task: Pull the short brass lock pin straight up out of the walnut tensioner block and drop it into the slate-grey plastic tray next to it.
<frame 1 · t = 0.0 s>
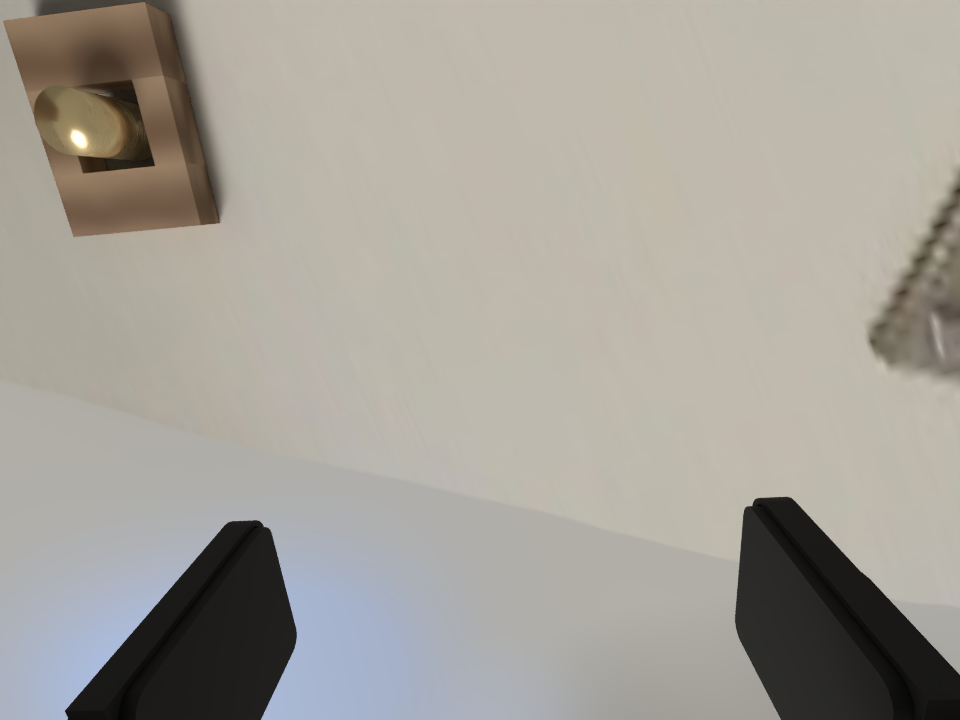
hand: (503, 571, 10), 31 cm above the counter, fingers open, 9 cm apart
lock pin: (132, 132, 38), resting in tensioner block
tensioner block: (132, 132, 37), on the counter
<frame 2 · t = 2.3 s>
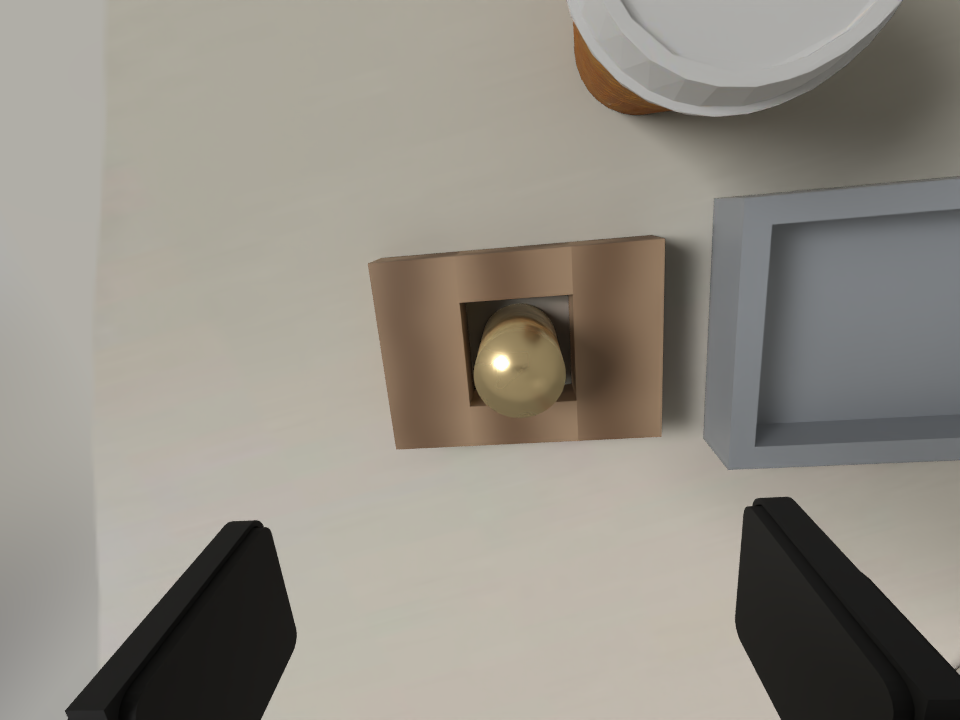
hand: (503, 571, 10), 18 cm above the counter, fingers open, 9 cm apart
disposable coffee cup: (642, 40, 23), on the counter
slate tray: (869, 316, 26), on the counter
lock pin: (519, 339, 28), resting in tensioner block
tensioner block: (519, 339, 28), on the counter
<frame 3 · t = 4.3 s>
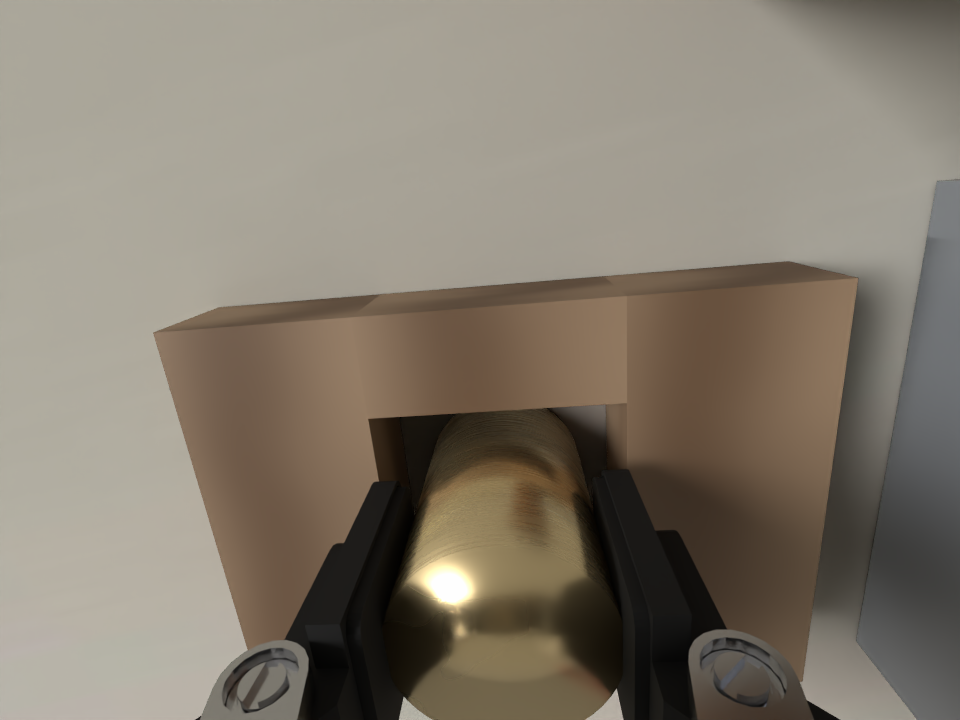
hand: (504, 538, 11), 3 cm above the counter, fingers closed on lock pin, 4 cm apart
lock pin: (505, 464, 14), resting in tensioner block, touching gripper
tensioner block: (505, 465, 14), on the counter
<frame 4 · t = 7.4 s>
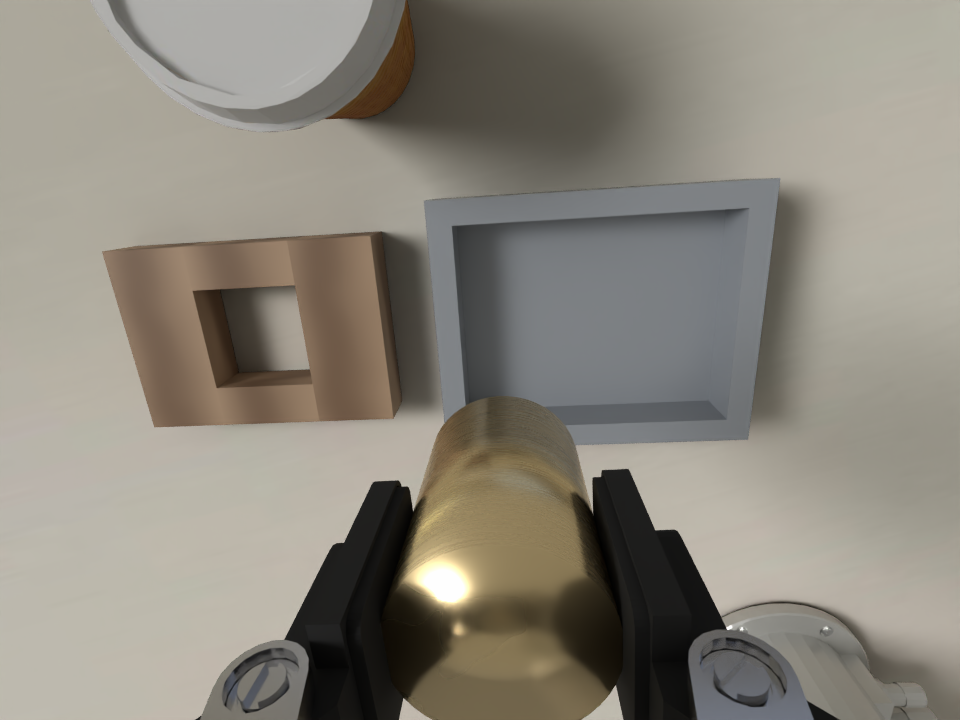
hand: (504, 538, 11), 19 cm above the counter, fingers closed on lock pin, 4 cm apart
disposable coffee cup: (352, 49, 25), on the counter
slate tray: (585, 311, 28), on the counter
lock pin: (504, 463, 14), point 16 cm above the counter, touching gripper
tensioner block: (274, 326, 29), on the counter
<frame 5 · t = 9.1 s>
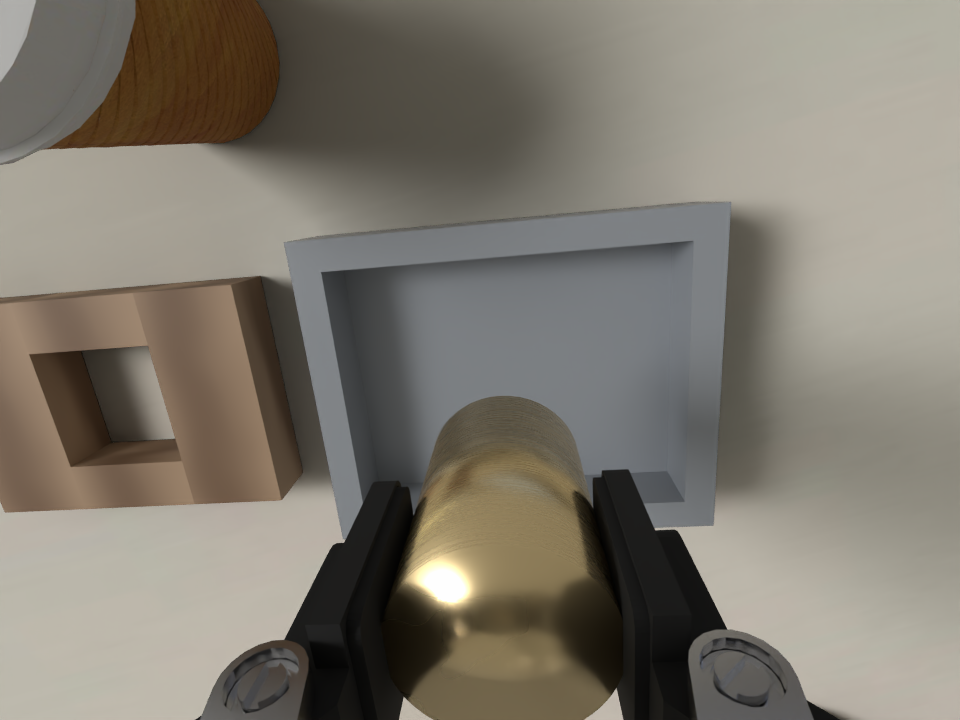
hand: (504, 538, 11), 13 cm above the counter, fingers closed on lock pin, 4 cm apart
disposable coffee cup: (206, 60, 20), on the counter
slate tray: (512, 365, 23), on the counter
lock pin: (505, 463, 14), point 10 cm above the counter, touching gripper
tensioner block: (146, 389, 25), on the counter
when the fingers open (6 cm above the counter, at t = 10.6 s): lock pin drops 2 cm, resting on slate tray.
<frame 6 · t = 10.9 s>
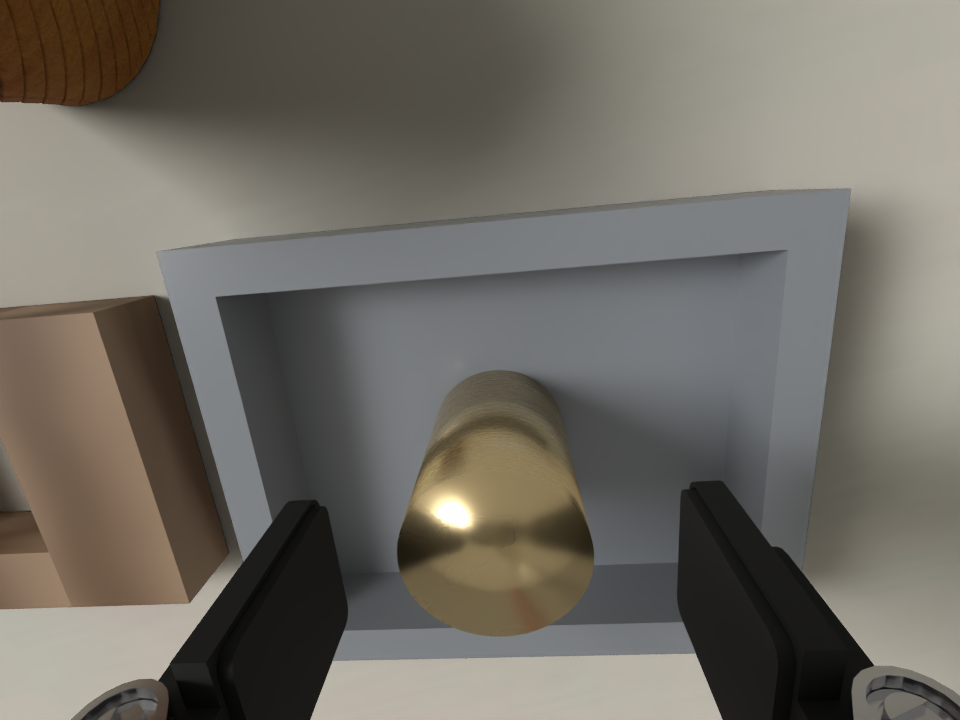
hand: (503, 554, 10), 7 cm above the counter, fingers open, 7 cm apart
slate tray: (506, 416, 17), on the counter
lock pin: (499, 429, 16), point 1 cm above the counter, touching slate tray
tensioner block: (12, 446, 18), on the counter
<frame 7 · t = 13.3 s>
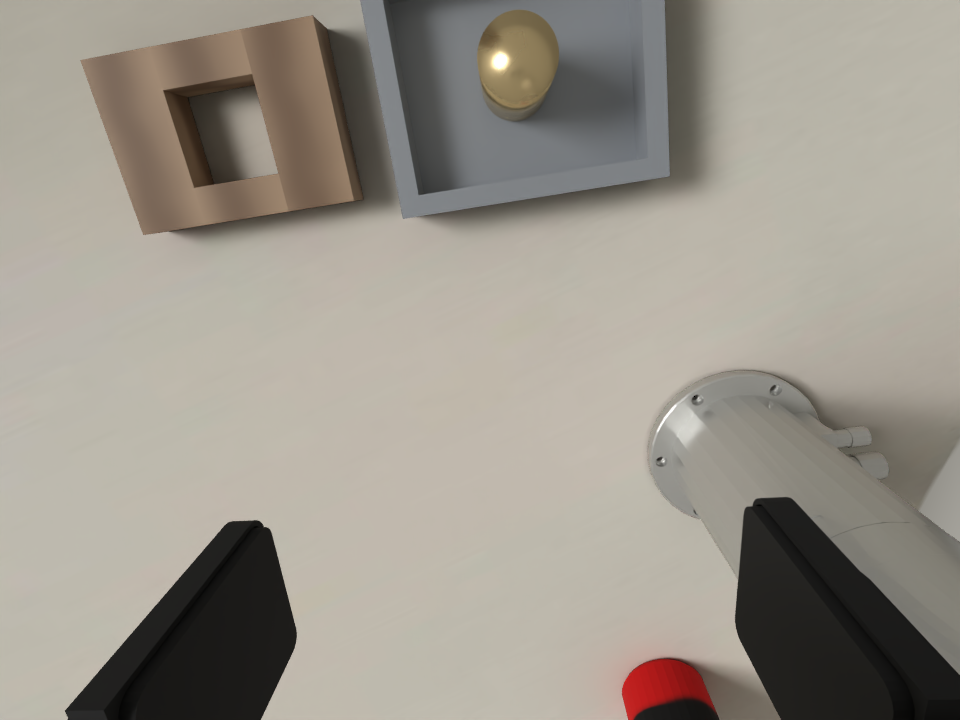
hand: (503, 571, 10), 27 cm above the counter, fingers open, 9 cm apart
slate tray: (517, 88, 31), on the counter
soda can: (660, 684, 48), on the counter
lock pin: (514, 85, 30), point 1 cm above the counter, touching slate tray
tensioner block: (241, 136, 33), on the counter
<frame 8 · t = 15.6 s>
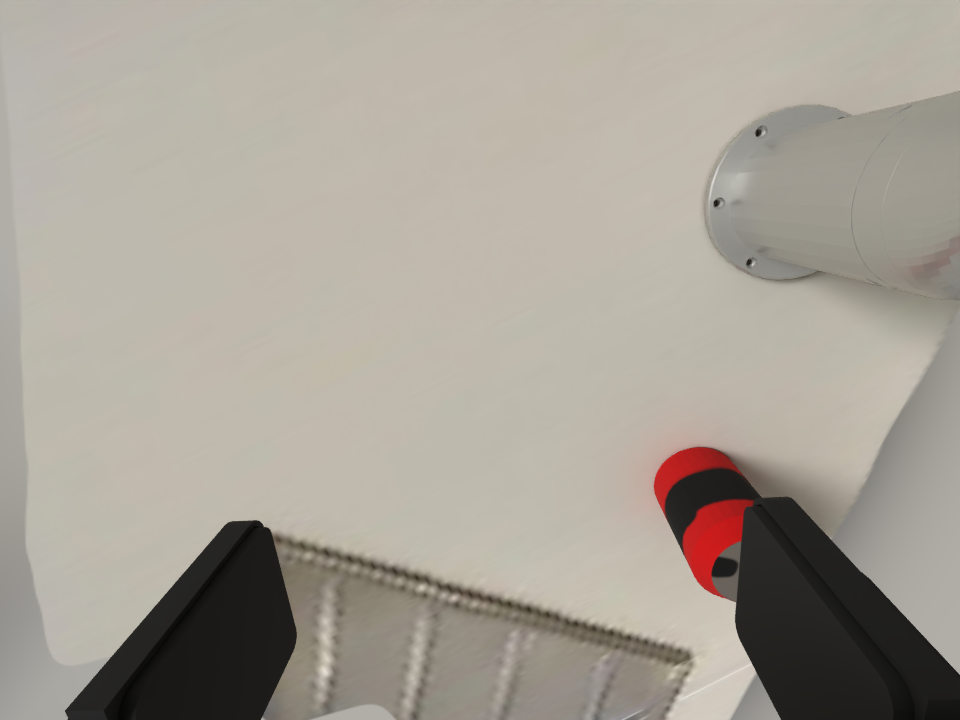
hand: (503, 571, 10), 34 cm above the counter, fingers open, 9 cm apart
soda can: (693, 480, 48), on the counter
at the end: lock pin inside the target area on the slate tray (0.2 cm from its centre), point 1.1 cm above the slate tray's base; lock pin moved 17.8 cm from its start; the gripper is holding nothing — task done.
